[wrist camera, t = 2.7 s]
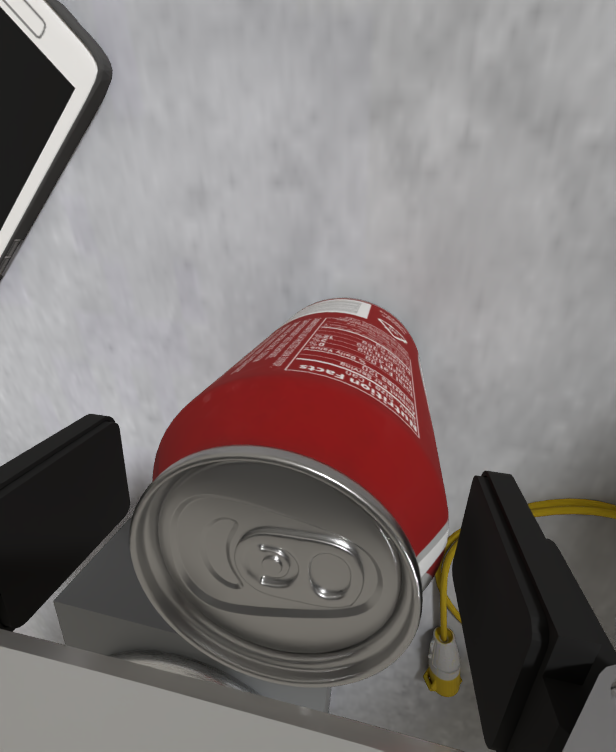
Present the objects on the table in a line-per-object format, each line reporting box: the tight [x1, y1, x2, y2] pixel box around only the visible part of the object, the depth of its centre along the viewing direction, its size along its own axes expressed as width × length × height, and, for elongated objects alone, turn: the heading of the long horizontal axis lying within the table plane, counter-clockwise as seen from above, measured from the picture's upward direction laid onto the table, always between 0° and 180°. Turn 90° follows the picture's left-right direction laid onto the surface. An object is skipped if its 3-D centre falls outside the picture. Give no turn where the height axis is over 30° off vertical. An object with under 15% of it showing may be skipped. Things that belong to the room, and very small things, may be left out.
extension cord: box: [423, 499, 616, 697], centre depth 20 cm, size 12×16×2 cm
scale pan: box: [110, 650, 262, 696], centre depth 20 cm, size 13×13×1 cm
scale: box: [53, 519, 331, 714], centre depth 23 cm, size 14×17×6 cm
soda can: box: [129, 298, 449, 688], centre depth 12 cm, size 7×7×12 cm
